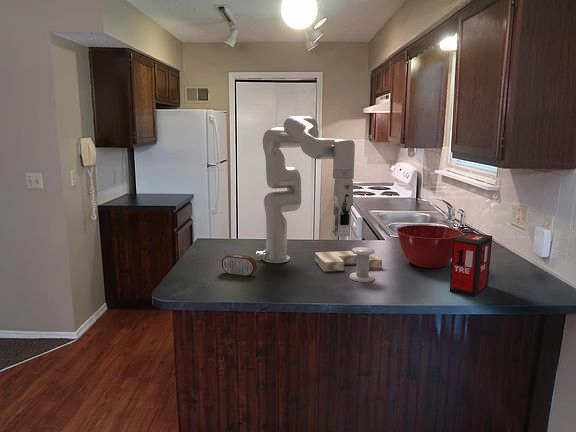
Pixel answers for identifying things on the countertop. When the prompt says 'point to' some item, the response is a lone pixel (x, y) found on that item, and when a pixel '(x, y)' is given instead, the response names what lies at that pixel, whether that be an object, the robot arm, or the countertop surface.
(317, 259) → the notched board
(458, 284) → the cleaning product box
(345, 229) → the syrup box
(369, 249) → the doorknob
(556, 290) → the countertop surface
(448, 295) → the countertop surface
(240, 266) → the tin
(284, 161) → the robot arm
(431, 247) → the mixing bowl
